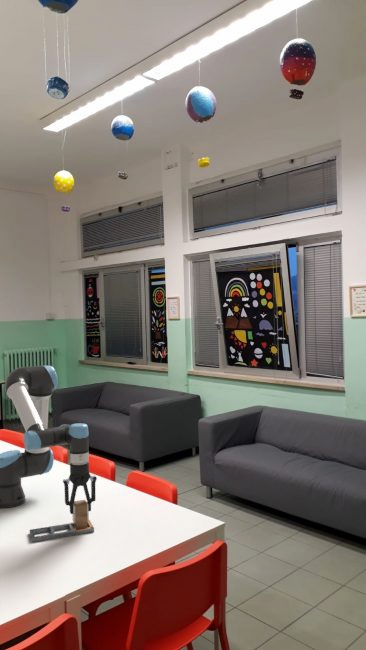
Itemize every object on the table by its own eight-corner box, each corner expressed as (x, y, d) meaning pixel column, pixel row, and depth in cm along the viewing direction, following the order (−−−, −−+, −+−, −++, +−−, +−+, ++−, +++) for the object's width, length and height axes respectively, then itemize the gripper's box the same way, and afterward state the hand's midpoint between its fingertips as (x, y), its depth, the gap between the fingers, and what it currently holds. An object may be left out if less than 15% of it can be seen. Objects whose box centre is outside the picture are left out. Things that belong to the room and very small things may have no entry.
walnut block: (74, 525, 206) (73, 501, 206) (85, 524, 208) (84, 499, 208) (76, 529, 202) (75, 504, 202) (87, 528, 204) (86, 503, 204)
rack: (29, 533, 202) (29, 529, 202) (89, 523, 211) (89, 519, 211) (31, 542, 194) (31, 538, 194) (94, 531, 202) (94, 527, 202)
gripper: (58, 467, 198) (59, 527, 198) (103, 462, 205) (104, 520, 205) (56, 462, 205) (57, 520, 205) (99, 457, 212) (100, 513, 212)
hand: (80, 520), depth 205 cm, fingers closed on walnut block, 4 cm apart
